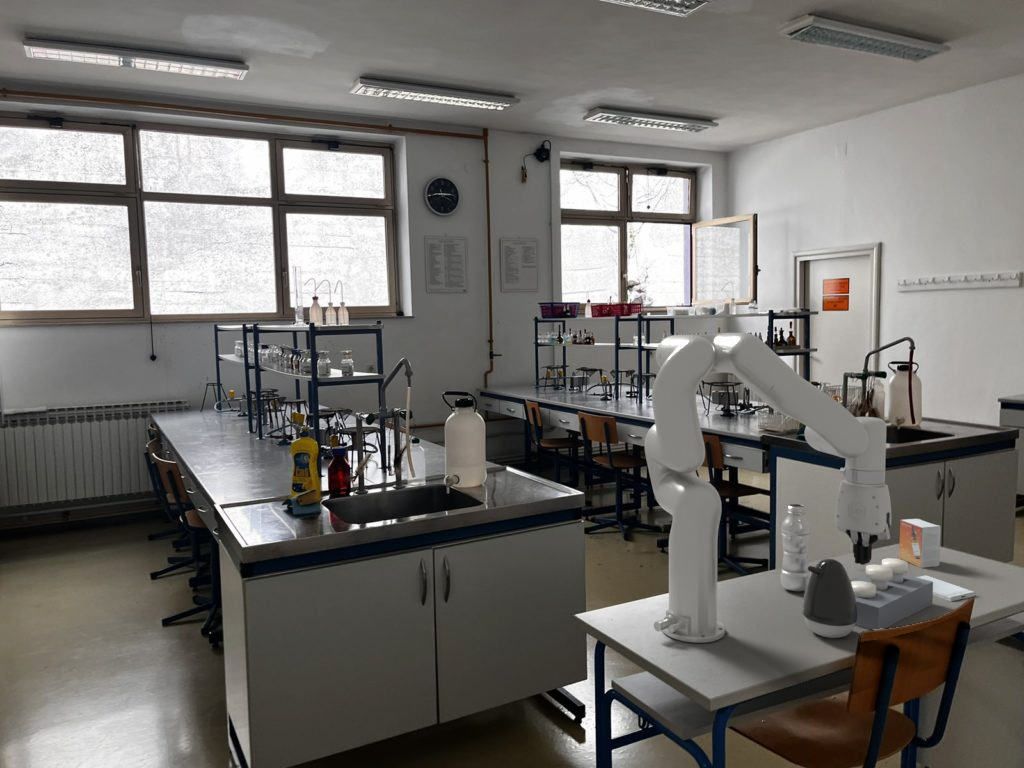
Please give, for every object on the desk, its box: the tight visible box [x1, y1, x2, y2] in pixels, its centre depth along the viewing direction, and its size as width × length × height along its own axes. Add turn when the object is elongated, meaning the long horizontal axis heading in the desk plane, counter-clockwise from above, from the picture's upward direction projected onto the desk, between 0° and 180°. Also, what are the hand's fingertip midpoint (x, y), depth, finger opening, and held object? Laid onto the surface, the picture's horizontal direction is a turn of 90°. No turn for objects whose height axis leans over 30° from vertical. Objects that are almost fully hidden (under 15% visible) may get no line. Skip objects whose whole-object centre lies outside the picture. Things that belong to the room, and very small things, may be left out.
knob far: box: [881, 557, 909, 584], centre depth 168 cm, size 5×5×6 cm
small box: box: [898, 518, 942, 569], centre depth 194 cm, size 8×6×10 cm
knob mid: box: [865, 564, 893, 592], centre depth 163 cm, size 5×5×6 cm
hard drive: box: [915, 575, 977, 602], centre depth 175 cm, size 2×8×12 cm
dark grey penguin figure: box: [801, 558, 857, 639], centre depth 151 cm, size 10×10×15 cm
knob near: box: [851, 581, 876, 599], centre depth 159 cm, size 5×5×6 cm
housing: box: [850, 573, 934, 630], centre depth 164 cm, size 24×12×5 cm, turn 128°
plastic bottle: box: [779, 503, 812, 592], centre depth 175 cm, size 6×7×20 cm
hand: (862, 562), depth 159 cm, fingers closed
